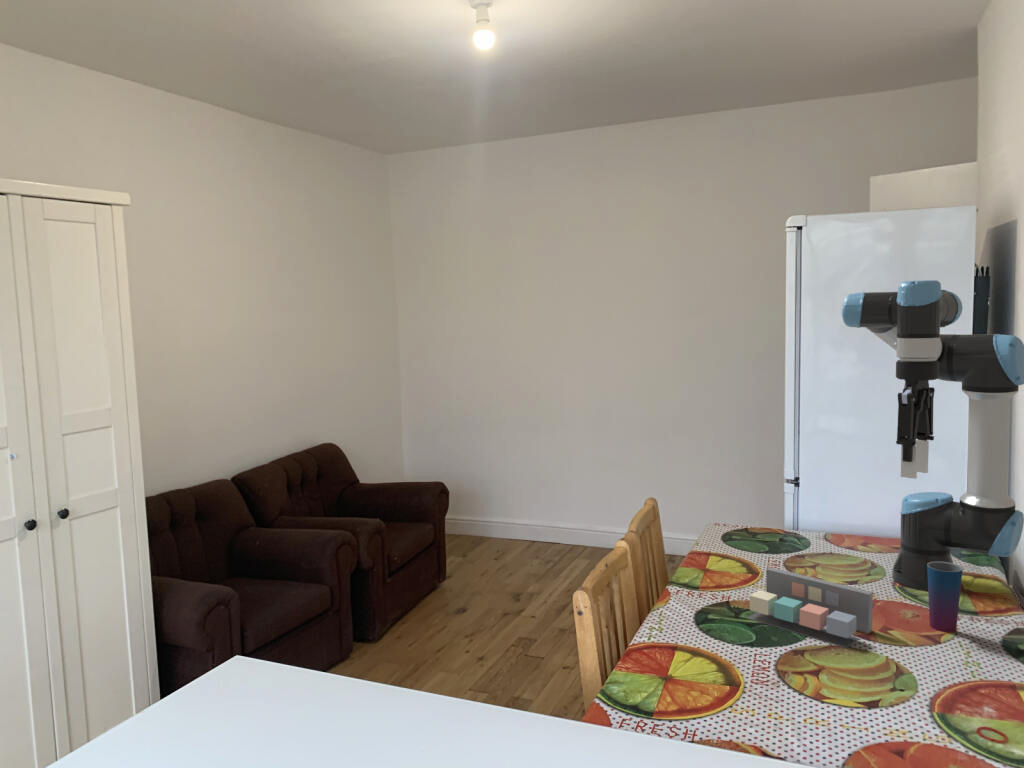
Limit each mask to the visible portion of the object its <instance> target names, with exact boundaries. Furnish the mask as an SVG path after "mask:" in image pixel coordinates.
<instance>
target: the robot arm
mask: <svg viewBox="0 0 1024 768" xmlns="http://www.w3.org/2000/svg"><path fill="white" fill-rule="evenodd" d="M897 287H898V288H897V291H879V292H877V291H876V292H873V291H872V292H865V291H862V292H857V293H850V294H848V295H846V296H845V298H844V300H843V303H842V305H841V306H842V308H841V318H842V321H843V323H844V324H845V326H847V327H850V328H857V329H859V328H866V329H867V330H869V331H870V332H871V333H873V335H875V336H877V337H878V338H879V339H881V340H882V341H883V342H885V343H886V344H887V345H888V346H889V347H891V348H892V349H893V350H894V351H896V357H897V358H899V359H898V360H896V362H895V378H897V380H904V388H903V389H902V392H898V393H897V402H898V403H897V404H898V406H897V427H896V428H897V430H896V431H897V432H896V433H897V434H896V441H895V444H896V445H901V449H900V450H901V451H900V453H901V454H900V456H901V458H900V478H908V479H914V480H915V479H917V477H918V476H917V475H918V473H921V474H922V473H923V474H928V473H929V448H930V447H929V445H930V444H929V443H930V442H929V441H934V439H935V436H934V399H935V398H934V397H935V396H934V395H935V392H936V391H935V387H934V386H933V387H932V386H931V387H930V383H929V381H934V380H939V381H940V380H941V381H945V382H953V383H954V382H958V383H961V392H963V393H964V394H965V395H966V396H967V398H968V415H967V416H968V420H967V422H968V423H967V424H968V425H967V473H966V474H967V476H966V479H967V481H966V483H967V484H966V488H967V489H966V492H964V493H963V494H962V495H960V497H959V501H954V497H953V495H952V494H950V493H947V492H941V491H938V492H937V491H924V492H923V491H922V492H915V493H910V494H908V495H907V494H906V495H905V496H904V497H903V498H902V500H901V508H900V509H901V511H900V512H899V514H900V539H899V541H900V547H899V551H898V554H897V557H896V559H895V561H894V564H893V566H892V573H891V574H892V575H891V576H892V577H891V578H892V579H893V580H894V581H895V582H896V583H898V584H900V585H902V586H905V587H908V588H912V589H917V590H922V591H928V572H927V564H928V563H929V562H935V561H940V562H949V563H953V564H955V563H954V560H953V557H952V548H953V549H958V550H961V551H962V550H963V551H968V552H974V553H977V554H984V555H988V556H990V557H991V556H995V557H1003V558H1006V557H1007V558H1009V557H1010V556H1012V555H1014V553H1015V552H1016V550H1017V547H1018V546H1019V543H1020V541H1021V537H1022V534H1023V530H1024V513H1023V512H1022V511H1020V510H1018V509H1016V501H1015V500H1014V499H1013V498H1012V496H1010V495H1009V470H1010V467H1009V466H1010V439H1011V438H1010V433H1011V431H1010V430H1011V429H1010V427H1011V399H1012V397H1014V396H1015V395H1016V394H1017V393H1019V386H1022V385H1024V342H1023V341H1022V340H1021V338H1020V337H1018V336H1015V335H1009V334H1001V333H991V334H990V333H989V334H988V333H987V334H986V333H985V334H983V333H981V334H954V333H953V334H952V333H951V334H950V333H949V334H945V333H944V334H942V333H941V328H946V327H948V326H950V325H952V324H954V323H955V322H957V321H958V319H960V317H961V315H962V313H963V309H964V308H963V307H964V306H963V302H962V300H961V298H960V296H958V294H956V293H954V292H953V291H950V290H947V289H942V284H941V282H940V281H939V280H935V279H931V280H930V279H929V280H908V281H907V280H905V281H902V282H900V283H899V285H898V286H897Z"/></svg>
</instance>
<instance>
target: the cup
mask: <svg viewBox="0 0 1024 768" xmlns="http://www.w3.org/2000/svg"><path fill="white" fill-rule="evenodd" d="M953 563H954V562H953ZM953 563H949V562H940V561H935V562H929V563H928V564H927V572H928V590H927V592H928V593H927V594H928V595H927V596H928V615H929V627H930V628H931V629H933V630H936V631H939V632H944V633H947V632H948V633H954V634H955V633H957V625H958V616H959V606H960V597H961V588H962V578H963V567H962V566H960V565H958V564H957V563H954V564H953Z"/></svg>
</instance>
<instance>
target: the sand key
mask: <svg viewBox="0 0 1024 768" xmlns="http://www.w3.org/2000/svg"><path fill="white" fill-rule="evenodd" d="M775 601H777V595H776V594H772V593H768V592H766V590H765V591H764V590H760V589H759V590H757V591H754V593H752V594H750V595H749V611H752V612H755V613H756V612H758V613H762V614H765V615H769V614H771V613H774V602H775Z"/></svg>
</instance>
